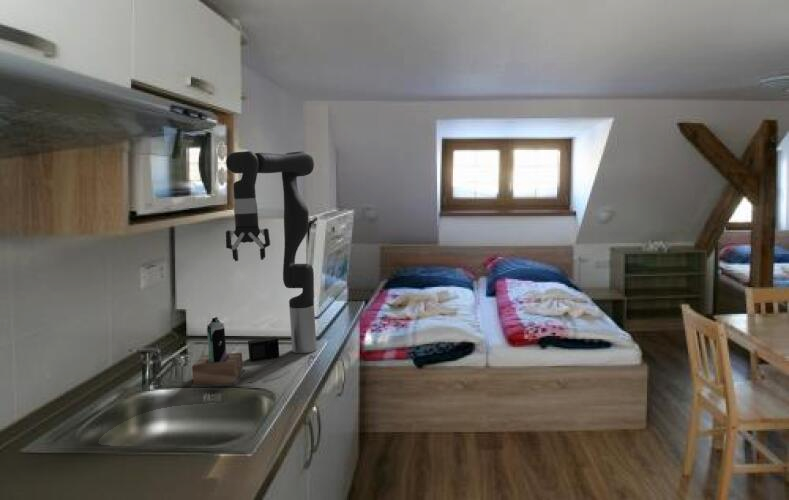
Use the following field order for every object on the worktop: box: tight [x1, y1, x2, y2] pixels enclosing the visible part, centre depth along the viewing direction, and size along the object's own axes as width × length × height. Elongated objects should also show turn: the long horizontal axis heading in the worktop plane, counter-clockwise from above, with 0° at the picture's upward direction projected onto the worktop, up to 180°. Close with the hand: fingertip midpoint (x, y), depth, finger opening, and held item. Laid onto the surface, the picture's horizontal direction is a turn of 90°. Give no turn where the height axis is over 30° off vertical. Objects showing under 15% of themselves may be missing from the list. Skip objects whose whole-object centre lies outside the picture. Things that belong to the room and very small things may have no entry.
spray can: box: [206, 316, 227, 363], centre depth 200 cm, size 6×6×20 cm
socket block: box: [191, 352, 246, 389], centre depth 201 cm, size 14×14×7 cm
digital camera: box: [247, 336, 280, 362], centre depth 223 cm, size 10×5×7 cm, turn 113°
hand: (249, 260), depth 205 cm, fingers open, 8 cm apart
